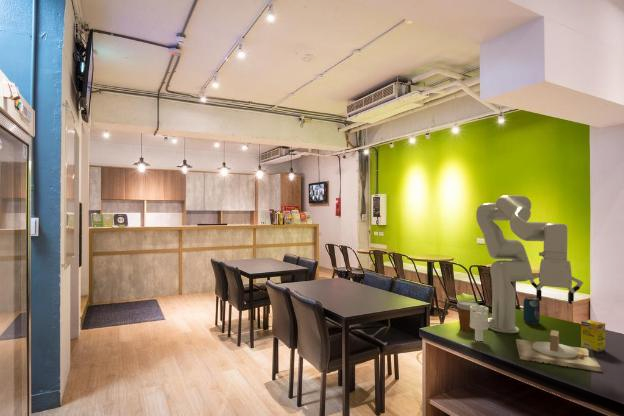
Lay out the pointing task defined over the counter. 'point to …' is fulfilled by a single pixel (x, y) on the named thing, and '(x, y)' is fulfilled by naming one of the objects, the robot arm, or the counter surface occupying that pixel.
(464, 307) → the disposable coffee cup
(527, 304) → the soda can
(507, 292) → the robot arm
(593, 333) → the supplement box
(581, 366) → the level stand
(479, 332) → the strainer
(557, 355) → the dial
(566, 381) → the counter surface
